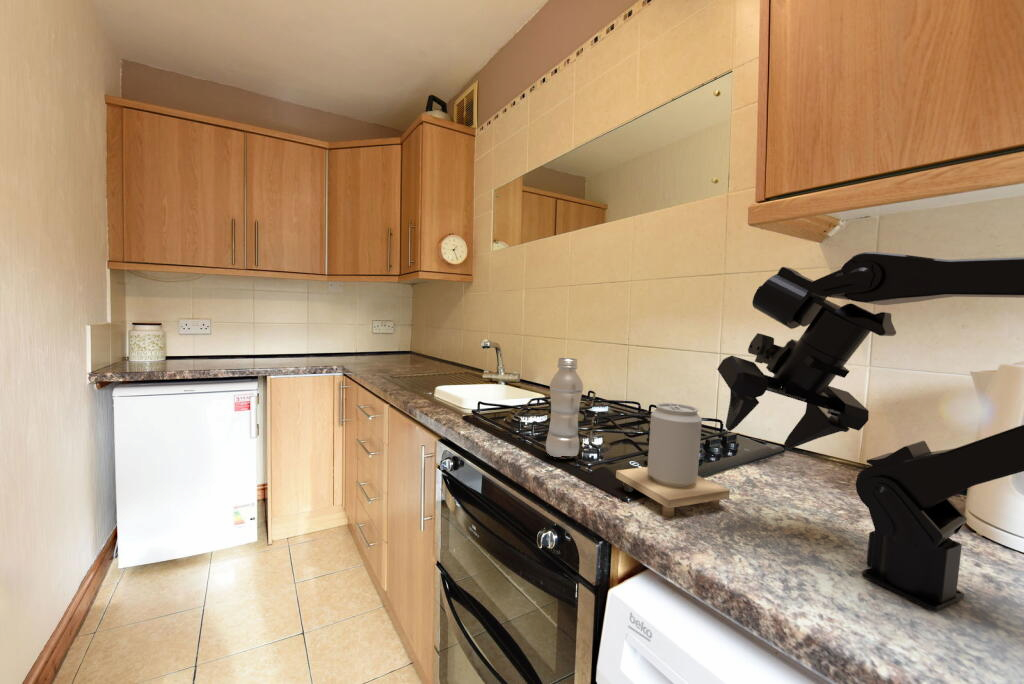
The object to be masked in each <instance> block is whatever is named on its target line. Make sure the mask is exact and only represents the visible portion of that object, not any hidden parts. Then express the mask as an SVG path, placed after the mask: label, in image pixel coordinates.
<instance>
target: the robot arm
mask: <svg viewBox="0 0 1024 684" xmlns="http://www.w3.org/2000/svg"><path fill="white" fill-rule="evenodd" d="M955 297H957V298H959V297H960V298H1012V299H1013V298H1021V299H1022V298H1024V256H1019V257H1018V256H1017V257H994V258H993V257H991V258H990V257H989V258H969V259H967V258H966V259H943V258H933V257H932V258H931V257H927V256H926V257H925V256H917V255H909V254H899V253H890V252H889V253H888V252H878V251H867V252H862V253H858V254H855V255H853V256H852V257H851V258H850V259H848V261H846V262H845V263H844V264H843V265H842V267H841V268H840V269H838V270H836V271H833V272H831V273H829V274H826V275H824V276H822V277H820V278H817V279H815V280H812V279H811V278H809V277H806V276H804V275H802V274H801V273H800V272H799V271H797V270H795V269H794V268H790V267H787V266H786V267H785V266H782V267H780V268H779V270H778V272H777V273H776V274H774V275H772V276H771V277H769V278H768V279H767V280H766V281H764V282H763V284H762V285H759V286H758V287H757V290H756V291H755V293H754V296H753V298H752V302H751V303H752V307H753V308H754V309H755V310H757V311H759V312H761V313H762V314H764V315H766V316H768V317H769V318H771V319H773V320H774V321H776V322H778V323H780V324H781V325H784V326H785V327H787V328H789V329H791V330H793V329H796V328H798V327H800V326H801V327H803V328H805V327H807V328H806V329H805V331H804V332H802V334H801V336H800V338H799V339H798V340H796V339H792V338H791V339H790V340H789V341H787V342H786V343H785V345H784V346H781V345H777V344H775V337H772V336H769V335H766V334H763V333H756V334H755V336H754V337H753V338H752V340H751V341H750V342H749V345H748V348H747V352H748V354H750V355H754V356H756V357H755V359H754V361H751V360H748V359H745V358H740V357H738V356H735V355H729V356H727V357H725V358H723V359H722V361H721V362H720V363H719V365H718V367H717V368H716V370H717V371H718V373H719V375H720V376H721V377H722V379H723V381H724V382H725V383H726V385H727V386H728V388H729V390H730V395H729V397H730V398H729V406H728V410H727V416H726V422H725V428H726V430H727V431H729V432H731V431H733V430H734V429H735V428H737V427H738V426H739V424H741V423H742V422H743V420H745V419H746V418H747V416H749V414H750V413H751V412H752V411H753V410H754V409H755V408H756V407H757V406H759V404H760V401H759V400H758V398H759V397H762V396H763V395H764V394H765V393H766V391H767V392H770V393H774V394H778V395H781V396H784V397H787V398H790V399H793V400H797V401H800V402H803V403H806V407H805V412H804V415H803V416H802V417H801V418H800V420H799V421H798V422H797V424H796V425H795V426H794V427H793V429H792V430H791V432H790V433H789V434H788V436H787V438H786V439H785V441H784V443H783V444H784V446H785V448H786V449H788V450H791V449H794V448H796V447H799V446H802V445H804V444H807V443H809V442H813V441H814V440H817V439H820V438H823V437H827V436H830V435H833V434H836V433H839V432H840V433H841V432H843V433H848V432H849V431H850V429H853V430H856V431H858V432H859V431H861V429H862V428H863V427H864V426H865V425H866V423H868V421H869V415H870V414H869V410H868V409H867V407H865V406H864V405H863V404H862V403H861V402H860V401H859V400H857V398H855V397H854V396H853V395H852V393H850V392H849V391H846V390H844V389H840V388H836V387H834V386H831V385H830V384H831V382H833V380H834V379H835V378H836V376H837V377H840V378H844V379H845V378H846V377H847V375H849V373H850V370H849V369H848V368H846V367H845V365H846V364H847V363H848V362H849V360H850V358H851V357H852V356H853V355H854V354H855V352H857V350H858V349H859V347H860V346H861V345H862V343H863V342H864V341H865V340H866V338H867V337H868V336H869V335H870V333H873V334H875V335H878V336H881V337H883V336H884V337H894V336H896V335H897V331H896V329H895V326H894V324H893V321H892V312H891V313H890V312H886V311H883V312H881V311H880V312H878V313H873V312H871V311H869V310H867V309H865V308H862V307H860V306H859V305H856V304H855V303H850V302H849V303H847V304H844V305H842V306H841V305H838V304H836V303H835V302H832V301H830V300H828V299H827V298H833V299H838V300H839V299H840V300H847V301H852V302H853V301H854V302H858V303H862V304H863V303H864V304H872V305H877V306H890V305H892V306H893V305H898V304H899V305H901V304H909V303H918V302H925V301H933V300H937V299H945V298H955ZM756 363H757V364H766V367H765V369H766V370H767V371H768V372H769V373H772V375H773V376H772V375H771V376H770V375H767V374H764V372H763V371H762V370H761V369H760V368H759V366H758V365H757V364H756ZM866 463H867V464H868V465H870V466H866V467H864V469H862V470H860V471H859V472H858V474H857V476H856V481H855V489H856V493H857V495H858V497H859V499H860V501H861V502H862V503H863V505H865V507H867V509H868V511H869V515H870V518H871V521H872V525H873V528H874V530H872V531H870V532H869V534H868V542H867V543H868V544H867V551H866V552H867V555H866V563H865V564H866V566H867V567H868V568H867V569H863V570H862V572H861V575H862V576H863V577H865V578H866V579H868V580H869V581H870V580H871V581H872V582H874V583H876V584H878V585H880V586H882V587H883V588H886V589H888V590H890V591H892V592H894V593H896V594H898V595H900V596H901V597H904V598H906V599H908V600H910V601H912V602H914V603H916V604H918V605H920V606H922V607H924V608H926V609H928V610H931V611H938V610H941V609H942V608H944V607H945V608H946V607H947V606H949V605H952V604H954V603H957V602H958V601H961V600H964V599H965V593H964V592H962V591H960V590H958V582H959V581H958V580H959V572H960V564H961V563H960V562H961V554H962V548H963V547H962V546H963V544H962V543H961V542H957V541H955V540H953V539H952V538H950V537H952V536H954V535H956V534H958V533H959V532H960V530H961V529H962V528H963V526H965V524H966V523H967V521H968V519H967V516H966V515H965V514H964V513H962V511H960V510H959V508H958V507H957V506H956V505H955V504H954V503H953V502H952V501H951V500H950V498H952V497H954V496H956V495H958V494H961V492H964V491H966V490H967V489H969V488H972V487H974V486H977V485H980V484H981V485H982V484H985V483H988V482H991V481H995V480H998V479H1001V478H1005V477H1008V476H1012V475H1015V474H1016V475H1017V474H1019V473H1022V472H1023V473H1024V424H1021V425H1019V426H1018V425H1017V426H1015V427H1013V428H1010V429H1007V430H1004V431H1000V432H998V433H996V434H993V435H989V436H986V437H983V438H981V439H978V440H975V441H972V442H970V443H967V444H963V445H961V446H957V447H955V448H948V449H943V450H936V451H931V449H930V448H929V445H928V444H927V441H925V440H921V441H919V442H915V443H911V444H908V445H904V446H903V447H901V448H898V449H897V450H896V451H893V452H888V453H885V454H881V455H879V456H876V457H872V458H869V459H866Z"/></svg>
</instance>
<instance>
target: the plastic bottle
mask: <svg viewBox="0 0 1024 684" xmlns="http://www.w3.org/2000/svg"><path fill="white" fill-rule="evenodd" d="M557 368H558V371H556V373H555V374H554V376H553V377H552V379H551V380H550V383H549V392H550V393H549V394H550V410H551V412H550V422H549V429H548V434H547V437H546V441H545V450H546V453H547V455H548V454H549V455H550V456H553V457H561V456H576V457H577V455H578V454H579V451H580V439H579V421H578V420H579V413H580V405H581V400H582V396H583V390H584V383H583V381H582V379H581V377H580V375H579V374H578V373H577V369H578V359H577V358H572V357H571V358H570V357H558V359H557ZM549 455H548V456H549ZM550 456H549V457H550Z"/></svg>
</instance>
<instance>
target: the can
mask: <svg viewBox="0 0 1024 684" xmlns="http://www.w3.org/2000/svg"><path fill="white" fill-rule="evenodd" d="M655 406H656V408H655V409H654V410H653V411H652V412H651V413H650V425H649V426H650V428H649V438H648V439H649V441H648V457H647V458H648V459H647V467H648V468H647V472H648V474H649V475H650V476H651V477H652V478H653V480H655V481H656V482H658V483H660V484H663V485H666V486H671V487H679V488H680V487H689V486H691V485H692V484H693V483H694V482H696V481H697V477H698V476H699V475H698V474H699V473H698V472H699V462H700V450H701V448H700V447H701V438H702V436H701V435H702V422H703V419H702V418H701V416H700V415H699V414H698V412H699V409H698V408H697V407H695V406H692V405H689V404H688V405H687V404H682V403H673V402H661V403H656V405H655Z"/></svg>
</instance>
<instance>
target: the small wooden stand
mask: <svg viewBox="0 0 1024 684" xmlns="http://www.w3.org/2000/svg"><path fill="white" fill-rule="evenodd" d="M647 468H648V466H643V467H635V468H627V469H617V470H615V471H616V472H615V473H616V474H615V478H616V479H617V480H619V481H621V482H623V484H624V483H626V484H628V485H629V486H631V487H633V488H634V489H635V490H636V491H638V492H640V493H642V494H644V495H645V496H646V497H649V498H650V499H651V500H654V501H655V502H657V503H659V504H661V505H662V512H661V513H662V515H663V516H664V517H668V518H672V517H675V508H676V507H677V508H679V507H683V506H684V507H685V506H690V505H691V506H692V505H696V504H702V503H707V505H706V506H707V507H708V508H710V509H714V510H718V509H719V508H720V500H725V499H730V494H731V493H730V491H731V490H730V489H728V488H725V487H723V486H722V485H720V484H716V483H715V482H712V481H710V480H709V479H706V478H704V477H701V476H699V475H698V477H697V481H696V482H694V483H693V484H692V485H691V486H689V487H680V488H679V487H671V486H666V485H663V484H660V483H658V482H656V481H655V480H653V478H652V477H651V476H650V475H649V474H648V472H647Z"/></svg>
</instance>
